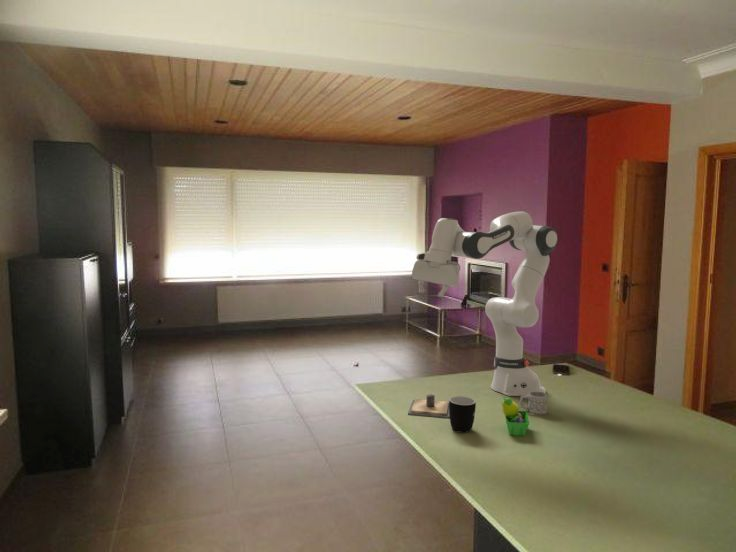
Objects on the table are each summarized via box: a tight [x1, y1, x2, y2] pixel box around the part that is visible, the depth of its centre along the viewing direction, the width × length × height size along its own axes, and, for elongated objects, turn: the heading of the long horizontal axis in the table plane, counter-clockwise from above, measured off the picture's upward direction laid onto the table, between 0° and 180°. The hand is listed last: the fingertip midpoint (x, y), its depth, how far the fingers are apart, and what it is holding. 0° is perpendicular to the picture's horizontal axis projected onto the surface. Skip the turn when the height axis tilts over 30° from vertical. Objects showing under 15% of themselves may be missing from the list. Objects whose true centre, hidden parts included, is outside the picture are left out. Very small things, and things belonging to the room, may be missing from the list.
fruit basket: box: [501, 397, 530, 437], centre depth 179 cm, size 11×9×11 cm
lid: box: [411, 394, 449, 416], centre depth 198 cm, size 13×13×5 cm
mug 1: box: [448, 395, 477, 433], centre depth 181 cm, size 12×9×10 cm
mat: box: [407, 399, 450, 419], centre depth 198 cm, size 15×15×1 cm
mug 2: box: [519, 391, 548, 415], centre depth 198 cm, size 10×7×7 cm, turn 84°
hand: (430, 294), depth 199 cm, fingers open, 8 cm apart
